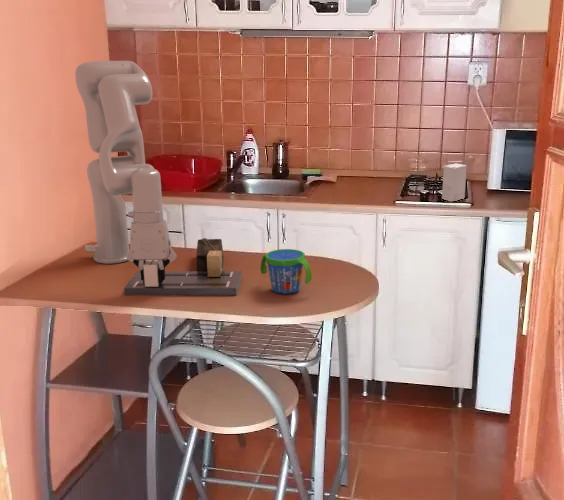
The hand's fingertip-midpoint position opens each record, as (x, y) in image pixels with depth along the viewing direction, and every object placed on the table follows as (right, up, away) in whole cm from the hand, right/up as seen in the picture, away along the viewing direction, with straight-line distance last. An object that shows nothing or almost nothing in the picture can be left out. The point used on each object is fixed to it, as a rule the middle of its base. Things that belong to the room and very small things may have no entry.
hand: (153, 281), depth 184 cm
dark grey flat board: (+8, -1, +4) cm, 9 cm away
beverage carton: (+13, +4, +22) cm, 26 cm away
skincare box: (+106, +29, +101) cm, 149 cm away
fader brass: (+16, +2, +7) cm, 18 cm away
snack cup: (+36, -2, 0) cm, 36 cm away
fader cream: (0, 0, 0) cm, 0 cm away
